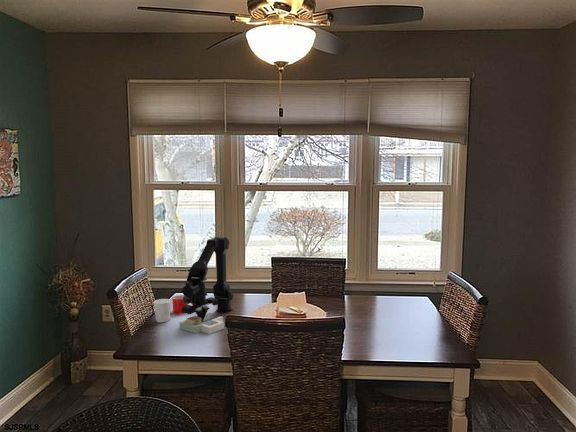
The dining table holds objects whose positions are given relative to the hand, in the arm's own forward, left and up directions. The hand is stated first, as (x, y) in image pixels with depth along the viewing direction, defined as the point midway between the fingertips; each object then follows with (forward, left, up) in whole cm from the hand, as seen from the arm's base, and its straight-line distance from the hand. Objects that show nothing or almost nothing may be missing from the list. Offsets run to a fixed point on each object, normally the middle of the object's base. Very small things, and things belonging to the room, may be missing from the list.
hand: (201, 322), depth 239 cm
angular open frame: (0, +3, -2) cm, 3 cm away
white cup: (+6, -22, -2) cm, 23 cm away
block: (+4, 0, -2) cm, 5 cm away
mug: (-9, -24, -2) cm, 26 cm away
